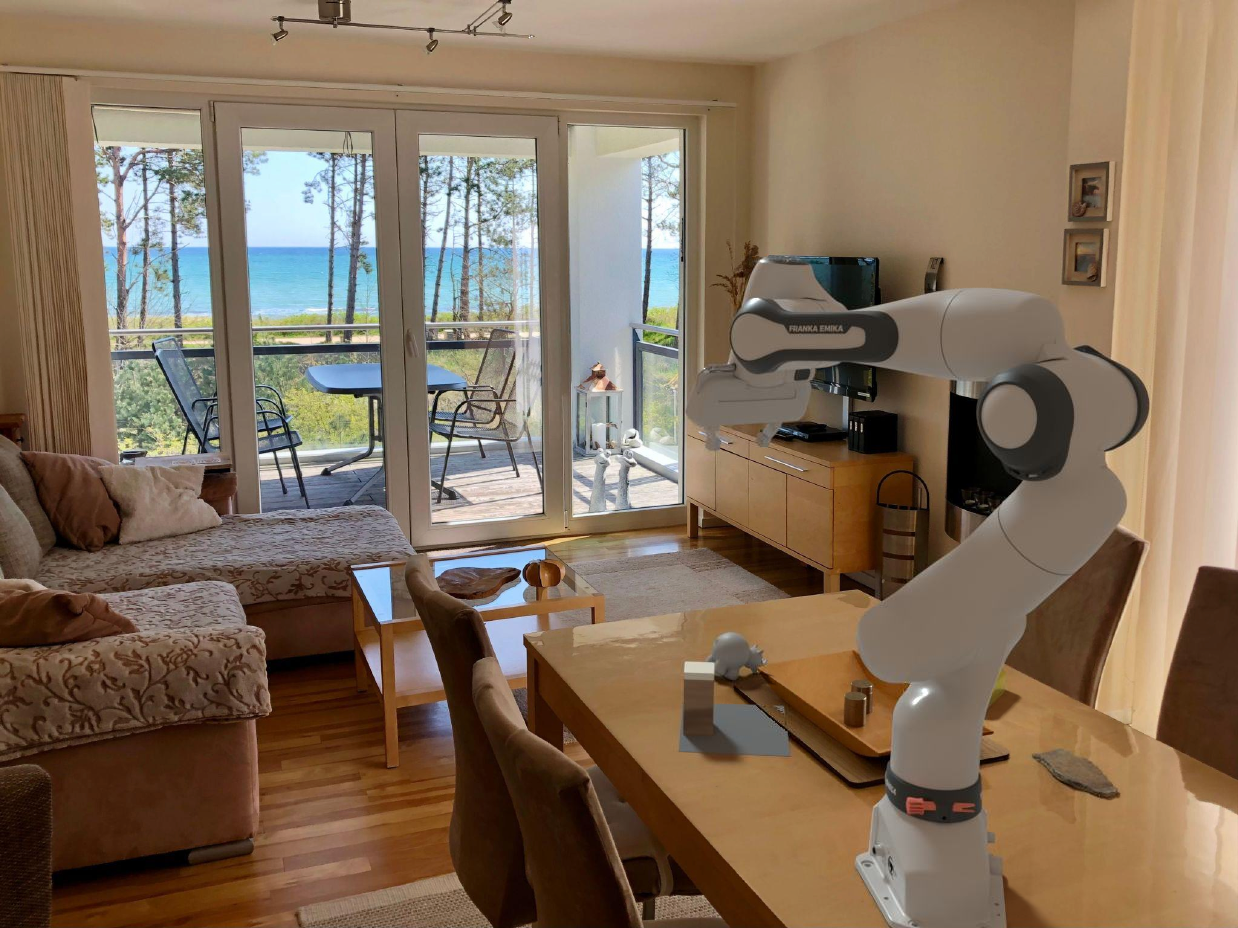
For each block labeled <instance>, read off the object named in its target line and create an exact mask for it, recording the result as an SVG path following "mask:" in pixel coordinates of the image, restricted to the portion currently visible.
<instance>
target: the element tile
mask: <svg viewBox="0 0 1238 928" xmlns="http://www.w3.org/2000/svg"><path fill="white" fill-rule="evenodd" d="M1006 678H1007V672H1006V670H1005V669H1004V668H1002V669H1001V671H1000V674H999V676H998V679H997V682H996V684H995V687H994V690H993V692H992V695H991V698H990V701H989V704H988V707H987V710H988V708H989V707H990V708H991V706H992V705H993V704H994V703H995V702H996V701H997V700H998V699H999V698H1000V697H1002V696H1003V695H1004V694H1005V692H1006V682H1007V680H1006ZM910 684H911V683H910Z"/></svg>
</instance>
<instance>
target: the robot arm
mask: <svg viewBox="0 0 1238 928" xmlns="http://www.w3.org/2000/svg"><path fill="white" fill-rule="evenodd" d="M814 273H815V272H814V270H813V266H812V265H811V264H810V263H809V262H807V261H806V260H804V259H802V258H797V257H786V256H767V257H763V258H761V259H759V260H758V261H757V262H756V265H754V267H753V270H752V272H751V274H750V276H749V279H748V283H747V285H746V289H745V292H744V294H743V295H744V296H743V299H742V303H741V307H740V308H739V310H738V311H737V313H736V315H735V316H734V318H733V320H732V322H731V326H730V327H729V329H730V330H729V343H730V344H729V345H730V347H731V349H730V353H729V355H728V356H729V357H728V361H727V363H722V364H717V363H711V364H708V365H706V367H703V369H701V370H700V371H698V373H697V375H696V377H695V383H694V384H693V386H692V389H691V392H690V394H689V396H688V397H689V398H688V401H687V404H686V408H685V415H686V416H687V419H689V421H691V422H692V423H693V424H694V425H696V426H697V427H699V428H702V427H703V428H704V429H703V430H704V432H705V435H706V441H705V444H704V445H705V448H706V449H707V450H708V451H709V452H713V451H714V452H715V451H719V450H720V449H721V447H720V446H721V445H722V440H721V439H720V438H718V436H717V434H716V432H719V431H720V427H721V426H737V425H750V424H751V425H752V424H766V425H765V427H764V429H762V431H761V432H757V434H756V439H755V444H756V446H758V447H759V448H768V447H770V445H771V441H772V438H773V437H774V436H775V435H776V434H777V432H779V430H780V429H781V427H782V424H783V423H784V422H787V423H788V422H799V421H800V420H801V419H802V418H803V417H804V415H805V414H806V412H807V408H808V405H809V401H810V397H811V392H812V384H811V381H813V379H814V377H815V374H816V369H821V368H828V367H832V366H836V365H839V364H841V363H855V364H861V365H868V366H872V367H873V366H874V367H878V368H884V369H889V370H893V371H894V370H895V371H901V372H905V373H911V374H916V375H919V376H925V377H930V378H936V379H942V380H950V381H960V382H987V383H986V385H985V386H984V387H983V388H982V390H981V392H980V393H979V396H978V398H977V403H976V411H975V412H976V420H977V427H978V430H979V432H980V434H981V436H982V439H983V441H984V442H985V444H986V446H987V447H988V448H989V450H990V451H991V452H992V454H993V455H994V456H996V457H997V458H998V459H999V460H1000V462H1001V463H1002V466H1003V469H1004V470H1005V471H1006V472H1007V473H1008V474H1010V475H1011V476H1012V477H1015V478H1016V479H1019V480H1022V481H1021V483H1020V484H1019V485H1018V486H1017V487H1016V489H1015V490H1014V491H1013V492H1011V494H1010V495H1008V497H1006V498H1005V499H1004V501H1003V502H1002V503H1001V504H1000V505H999V506H997V508H995V510H993V512H992V513H990V515H989V516H988V517H986V519H985V520H983V522H981V524H980V525H978V527H977V528H976V529H974V531H973V532H972V533H971V534H970V535H969V536H968V537H967V538H965V539H964V541H962V542H961V543H960V544H959V545H957V546H956V547H955V548H953V549H952V550H951V551H950V552H948V553H946V554H945V555H944V556H942V557H941V558H939V559H938V560H936V561H935V562H933V563H932V564H931V565H930V566H928V567H927V568H926V569H924V570H923V571H921V572H920V573H919V574H917V575H916V576H914V578H912V579H910V580H909V581H908V582H907V583H906V584H904V585H903V586H902V587H900V588H899V589H898V590H896V591H895V592H894V593H892V594H891V595H889V596H888V597H887V598H885V599H883V600H882V601H879V603H877V604H875V605H874V606H872V607H870V608H869V609H867V610H866V611H865V612H864V613H863V614H862V616H860V619H859V621H858V624H857V628H856V634H855V636H856V638H855V639H856V646H857V647H856V648H857V650H858V655H859V656H860V659H861V660H862V663H863V664H864V666H865V667H866V668H867V670H868V671H869V672H870V673H871V674H872V675H874V677H875V678H877V679H879V680H881V681H883V682H886V683H889V684H904V683H911V684H910V685H909V687H908V688H907V690H906V691H905V692H904V691H903V694H902V695H901V696H900V697H899V699H898V700H897V702H896V704H895V706H894V709H893V714H892V726H891V742H890V743H891V745H890V760H889V761H887V765H886V771H885V775H884V783H885V784H884V785H885V786H884V787H885V790H884V791H885V795H883V797H882V798H881V799H880V800H879V801H878V802H877V803H875V805H874V806H873V807H872V812H871V823H870V834H869V842H868V851H865V852H863V853H860V854H858V855H857V856H856V858H855V863H854V867H855V868H856V871H857V872H858V874H859V875H860V877H861V878H862V880H863V882H864V884H865V886H866V888H867V889H868V891H869V893H870V894H871V896H872V898H873V899H874V902H875V903H876V905H877V907H878V908H879V910H880V912H881V914H882V915H883V917H884V919H885V921H886V922H887V924H888V926H889V927H890V928H1007V927H1008V926H1007V915H1006V914H1007V913H1006V904H1005V893H1004V892H1005V891H1004V881H1003V866H1004V865H1003V862H1004V861H1003V857H1002V856H1001V855H994V853H989V846H988V844H995V843H996V832H993V831H988V829H987V828H988V818H989V817H988V816H989V812H988V811H987V810H986V808H984V807H983V797H984V795H983V791H984V789H983V784H982V783H983V782H982V774H981V772H980V763H981V762H980V760H981V752H982V751H981V749H982V741H983V740H982V739H983V730H984V722H985V718H986V713H987V710H988V709H987V707H988V704H989V701H990V698H991V695H992V692H993V690H994V687H995V684H996V682H997V679H998V676H999V674H1000V671H1001V669H1003V666H1004V665H1005V662H1006V660H1007V659H1008V656H1009V655H1010V653H1011V651H1012V650H1013V649H1014V648H1015V646H1016V645H1017V643H1018V642H1019V641H1020V640H1021V638H1022V637H1023V635H1024V633H1025V631H1026V627H1027V615H1028V614H1030V613H1031V612H1032V611H1034V610H1035V609H1036V608H1037V607H1038V606H1039V605H1040V604H1042V602H1043V601H1045V600H1046V599H1047V598H1048V597H1050V595H1051V594H1053V593H1054V592H1055V591H1056V590H1057V589H1058V588H1059V587H1060V586H1061V585H1063V584H1064V583H1065V582H1067V580H1068V579H1070V578H1071V577H1072V576H1073V575H1074V574H1076V572H1077V571H1078V570H1080V568H1082V567H1083V566H1084V565H1085V564H1086V563H1087V562H1088V561H1089V560H1090V559H1091V558H1092V557H1093V556H1094V554H1096V553H1097V551H1098V550H1099V549H1100V548H1101V547H1102V546H1104V545H1103V544H1105V542H1106V541H1107V540H1108V539H1109V537H1110V536H1111V535H1112V533H1114V531H1115V529H1116V528H1117V526H1118V525H1119V524H1120V523H1121V520H1123V518H1124V516H1125V513H1126V511H1127V506H1128V505H1127V504H1128V499H1127V498H1128V497H1127V493H1126V490H1125V487H1124V485H1123V483H1122V482H1121V480H1120V479H1119V477H1118V476H1117V475H1116V473H1114V472H1115V471H1113V470H1112V469H1110V468H1109V467H1108V464H1107V461H1106V458H1105V454H1106V453H1107V452H1110V451H1111V452H1112V451H1114V450H1115V449H1118V448H1120V447H1123V446H1124V445H1125V444H1127V443H1128V442H1130V441H1131V440H1132V439H1133V438H1134V439H1135V437H1136V436H1137V435H1138V434H1139V433H1140V431H1141V430H1142V429H1143V428H1144V426H1145V424H1146V422H1147V419H1148V418H1149V413H1150V397H1149V393H1148V390H1147V387H1146V385H1145V384H1144V382H1143V381H1142V379H1141V378H1140V377H1139V376H1138V375H1137V374H1136V373H1135V372H1133V370H1131V369H1130V368H1129V367H1127V366H1125V365H1123V364H1122V363H1119V362H1117V361H1116V360H1113V359H1111V358H1109V357H1107V356H1105V354H1103V353H1101V352H1100V351H1098V350H1096V349H1095V348H1093V347H1092V346H1090V345H1087V344H1083V345H1079V346H1076V347H1073V348H1072V347H1070V345H1069V344H1068V343H1067V342H1066V341H1067V340H1066V337H1065V332H1066V331H1065V324H1064V320H1063V316H1062V314H1061V312H1060V311H1059V309H1058V307H1057V305H1056V304H1055V303H1054V302H1052V301H1051V300H1050V299H1049V298H1047V297H1045V296H1044V295H1043V296H1042V295H1040V294H1037V293H1036V294H1035V293H1032V292H1028V291H1024V290H1023V291H1021V290H1017V289H1016V290H1015V289H1006V288H995V287H962V288H961V287H960V288H954V289H945V290H940V291H935V292H929V293H924V294H921V295H917V296H913V297H908V298H903V299H900V300H896V301H891V302H890V301H889V302H887V303H883V304H878V305H874V306H869V307H863V308H857V309H850V310H849V309H848V308H847V306H846V305H845V304H844V303H841V302H839V301H837V300H836V299H834V298H833V297H832V296H831V295H830V294H829V293H828V292H827V291H826V290H825V289H824V287H822V286H821V284H820V283H819V281H818V280H817V279H816V276H815V274H814ZM1013 470H1014V471H1016V472H1019V474H1017V473H1016V472H1014V471H1013Z"/></svg>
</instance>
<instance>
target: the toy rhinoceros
mask: <svg viewBox="0 0 1238 928" xmlns="http://www.w3.org/2000/svg"><path fill="white" fill-rule="evenodd" d="M758 646H759V645H758V644H754V645H753V646H752V647H750V644H749V642H748V640H747V639H746V638H745V637H744V636H743V635H741V634H740V633H737V632H732V631H730V632H729V631H728V632H725V633H722V634H720V635H719V636H718V637H717V638H716V639H715V641H714V642H713V645H712V649H711V651H712V652H711V654H709V655H708V656H707V658H706V659H705V660H704V662H713V663H714V675H717V676H721V677H723V676H724V678H727V679H728V680H730V681H736V680H737V679H738V677H739V674H740V673H739V672H740V669H742V668H743V667H745V668H747V669H749V670H750V671H751V672H752V673H753V674H758V675H759V673H757V667H761V666H764V665H767V664H768V662H769V657H766V658H765V660H764V656H763V653H764V649H760V650H759V648H758ZM764 667H765V666H764Z"/></svg>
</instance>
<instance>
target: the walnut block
mask: <svg viewBox="0 0 1238 928" xmlns="http://www.w3.org/2000/svg"><path fill="white" fill-rule="evenodd" d="M683 669H684V670H683V702H684V706H683V705H682V706H683V734H685V735H708V736H713V709H714V703H715V702H714V701H715V700H714V699H715V673H714V663H713V662H705V661H684V668H683Z"/></svg>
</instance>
